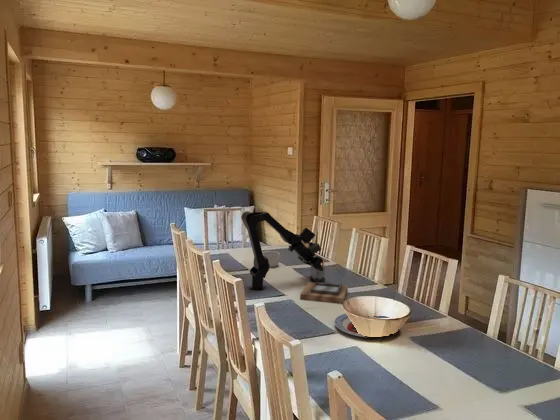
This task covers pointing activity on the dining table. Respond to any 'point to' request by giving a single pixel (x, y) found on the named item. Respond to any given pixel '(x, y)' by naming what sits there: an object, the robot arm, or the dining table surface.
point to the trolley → (317, 274)
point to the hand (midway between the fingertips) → (319, 269)
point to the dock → (324, 292)
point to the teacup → (272, 257)
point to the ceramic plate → (349, 324)
